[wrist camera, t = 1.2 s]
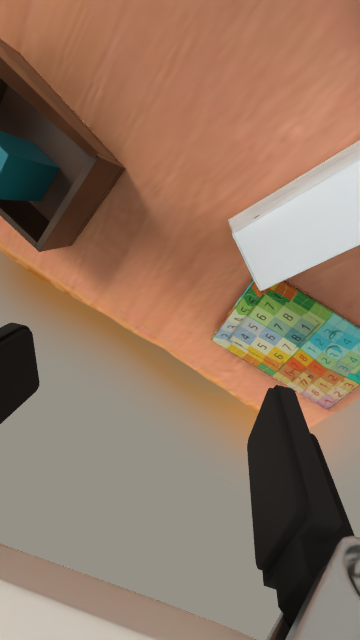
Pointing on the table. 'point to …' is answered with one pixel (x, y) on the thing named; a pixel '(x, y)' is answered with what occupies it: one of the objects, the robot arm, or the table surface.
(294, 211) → the skincare box
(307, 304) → the puzzle game
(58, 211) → the chest
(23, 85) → the lid
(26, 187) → the block
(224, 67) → the table surface
